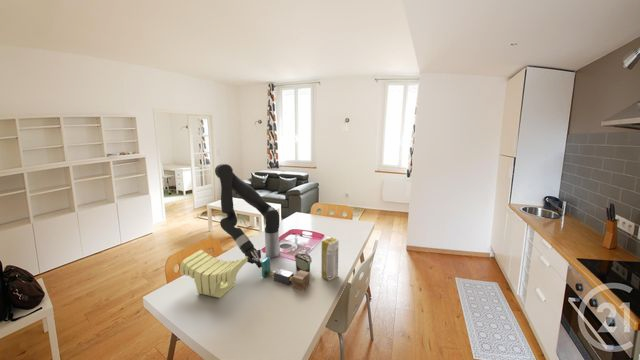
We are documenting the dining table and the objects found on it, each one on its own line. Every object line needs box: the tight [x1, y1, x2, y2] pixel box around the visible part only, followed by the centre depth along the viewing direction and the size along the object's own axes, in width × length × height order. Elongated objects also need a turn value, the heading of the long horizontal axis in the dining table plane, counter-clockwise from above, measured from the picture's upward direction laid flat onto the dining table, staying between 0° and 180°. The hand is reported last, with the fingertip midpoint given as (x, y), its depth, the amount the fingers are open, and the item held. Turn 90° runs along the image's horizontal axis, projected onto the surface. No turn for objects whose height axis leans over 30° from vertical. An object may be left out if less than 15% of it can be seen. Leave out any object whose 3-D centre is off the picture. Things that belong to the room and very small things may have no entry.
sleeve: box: [273, 268, 295, 286], centre depth 155 cm, size 5×10×5 cm, turn 63°
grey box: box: [261, 256, 293, 283], centre depth 156 cm, size 6×20×10 cm, turn 64°
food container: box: [294, 253, 313, 273], centre depth 165 cm, size 12×6×10 cm, turn 47°
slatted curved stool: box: [179, 249, 248, 298], centre depth 145 cm, size 30×16×18 cm, turn 73°
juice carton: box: [320, 236, 339, 282], centre depth 158 cm, size 9×8×24 cm
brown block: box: [292, 270, 311, 292], centre depth 150 cm, size 8×6×7 cm
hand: (261, 266), depth 162 cm, fingers closed
